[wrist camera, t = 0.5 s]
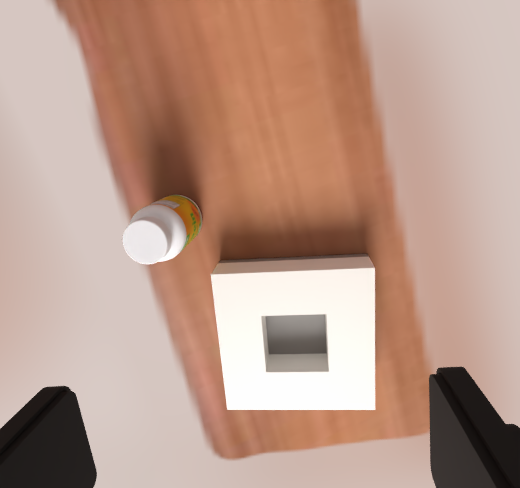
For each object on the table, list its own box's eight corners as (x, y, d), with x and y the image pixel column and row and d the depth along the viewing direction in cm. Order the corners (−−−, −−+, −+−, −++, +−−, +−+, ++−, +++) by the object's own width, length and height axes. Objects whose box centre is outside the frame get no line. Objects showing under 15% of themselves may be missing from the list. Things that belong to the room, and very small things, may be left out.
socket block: (219, 260, 43) (210, 274, 39) (367, 253, 41) (374, 267, 37) (234, 384, 47) (227, 409, 43) (368, 383, 46) (375, 409, 41)
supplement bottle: (201, 245, 43) (173, 277, 34) (153, 238, 43) (113, 267, 34) (205, 197, 41) (177, 216, 32) (156, 190, 42) (114, 207, 32)
